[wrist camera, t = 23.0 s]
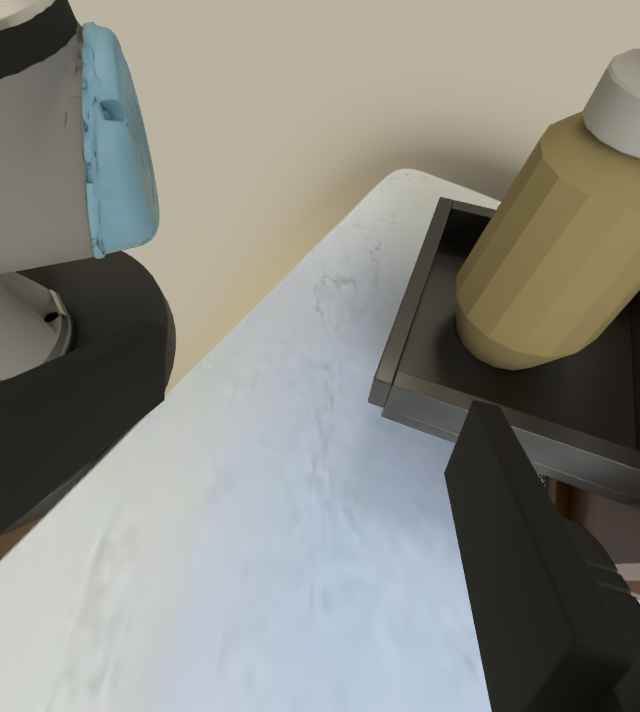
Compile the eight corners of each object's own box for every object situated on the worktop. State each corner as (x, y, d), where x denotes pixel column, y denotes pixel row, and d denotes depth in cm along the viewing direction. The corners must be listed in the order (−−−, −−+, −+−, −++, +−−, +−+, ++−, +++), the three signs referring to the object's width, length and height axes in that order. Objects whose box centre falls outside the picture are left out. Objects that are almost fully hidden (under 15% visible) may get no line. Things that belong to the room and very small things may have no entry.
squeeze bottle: (523, 414, 21) (1074, -27, 6) (412, 331, 24) (574, -105, 9) (588, 333, 24) (1070, -106, 9) (482, 268, 27) (696, -144, 12)
